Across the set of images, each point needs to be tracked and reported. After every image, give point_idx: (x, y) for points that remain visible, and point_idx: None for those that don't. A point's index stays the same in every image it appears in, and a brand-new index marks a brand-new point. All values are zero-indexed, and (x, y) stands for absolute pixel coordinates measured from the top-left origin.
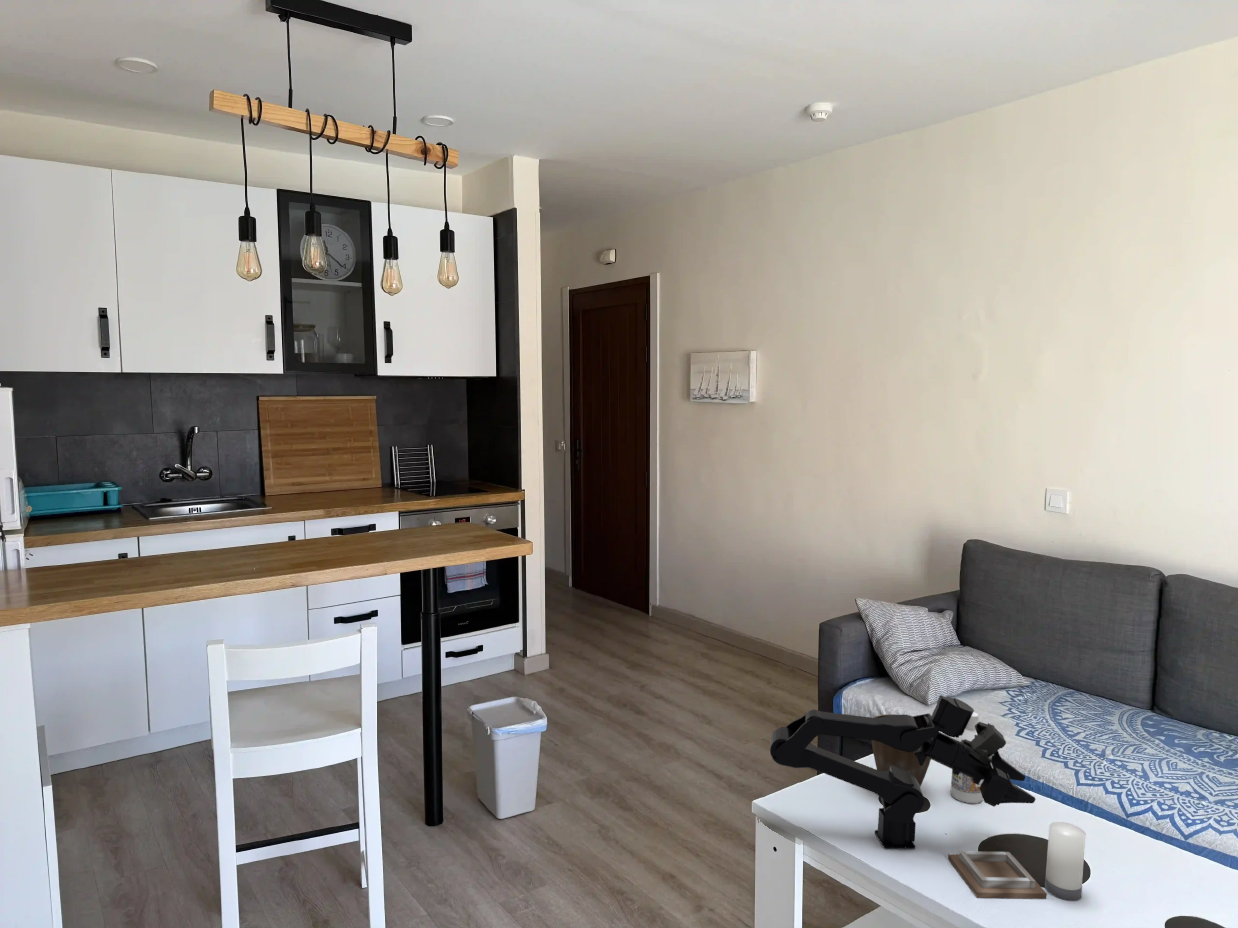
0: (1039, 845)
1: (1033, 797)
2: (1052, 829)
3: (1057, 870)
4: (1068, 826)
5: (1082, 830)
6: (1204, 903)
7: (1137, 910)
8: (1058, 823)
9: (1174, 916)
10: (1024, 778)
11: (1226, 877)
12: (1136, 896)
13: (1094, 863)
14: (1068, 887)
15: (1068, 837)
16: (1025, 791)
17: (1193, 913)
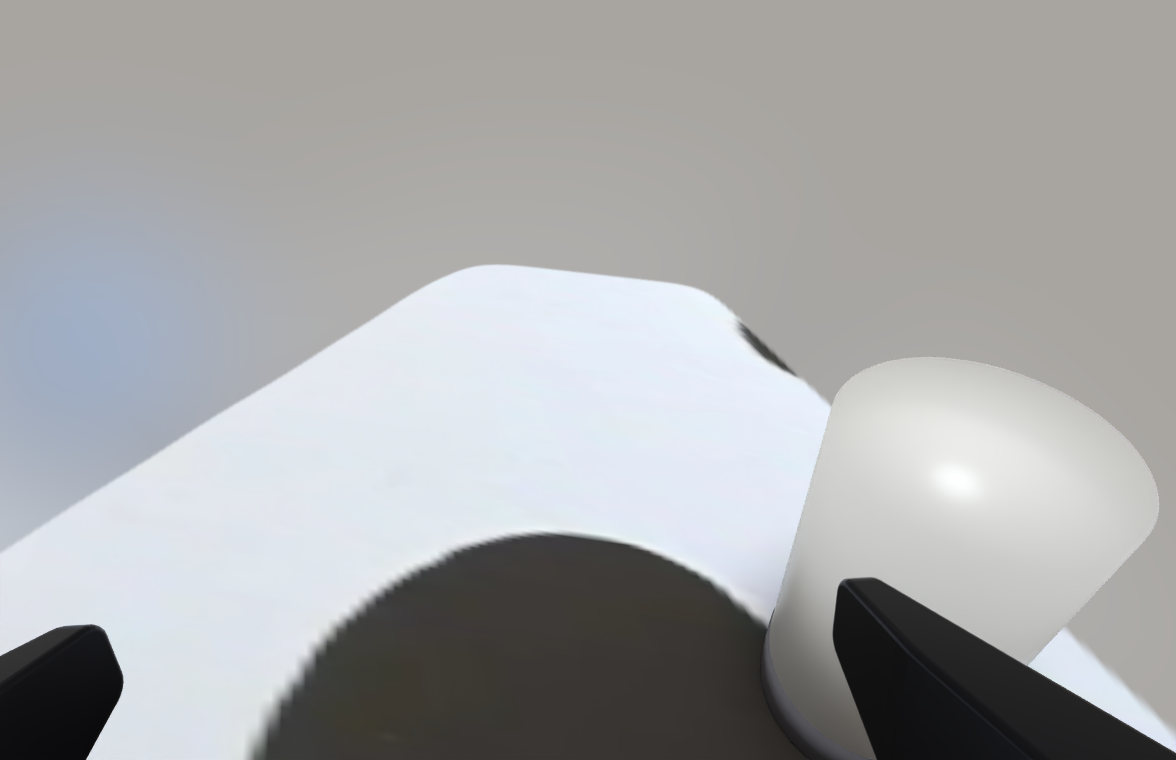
0: (370, 738)
1: (907, 596)
2: (1103, 549)
3: None
4: (897, 431)
5: (893, 367)
6: (653, 308)
7: (811, 438)
8: (902, 487)
9: (776, 365)
10: (109, 652)
11: (496, 265)
12: (709, 427)
13: (507, 510)
14: None
15: (1132, 451)
16: (994, 701)
17: (726, 331)
